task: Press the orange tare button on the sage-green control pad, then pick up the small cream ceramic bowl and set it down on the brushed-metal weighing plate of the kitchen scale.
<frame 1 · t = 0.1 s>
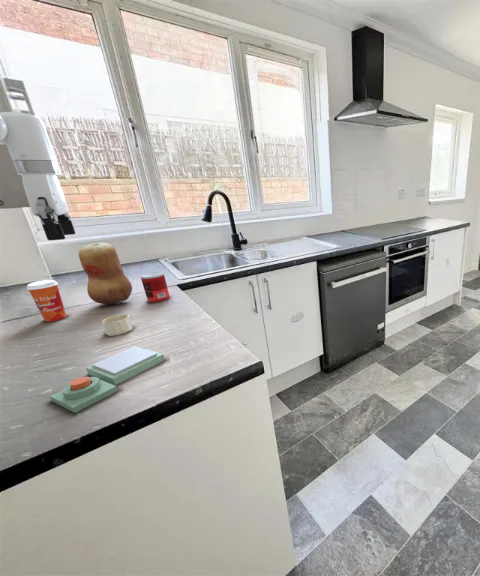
hand: (62, 237, 83), 33 cm above the countertop, tool pointing down, fingers open, 9 cm apart
paper cup: (56, 318, 114), on the countertop
butternut squash: (115, 304, 127), on the countertop
tare button: (80, 383, 70), point 3 cm above the countertop, slide at 0.1 cm
canned food: (159, 299, 131), on the countertop
scale: (128, 367, 83), on the countertop
bowl: (119, 330, 103), on the countertop
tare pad: (85, 395, 72), on the countertop
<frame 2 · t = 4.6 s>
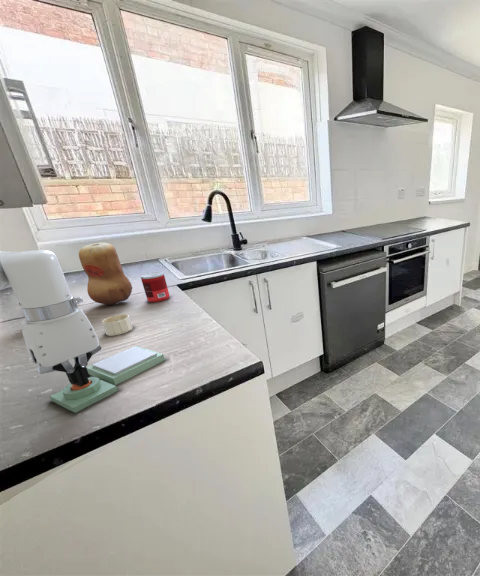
hand: (81, 383, 70), 3 cm above the countertop, tool pointing down, fingers closed
tare button: (81, 386, 71), point 3 cm above the countertop, slide at -0.7 cm, touching gripper
everything else where it was.
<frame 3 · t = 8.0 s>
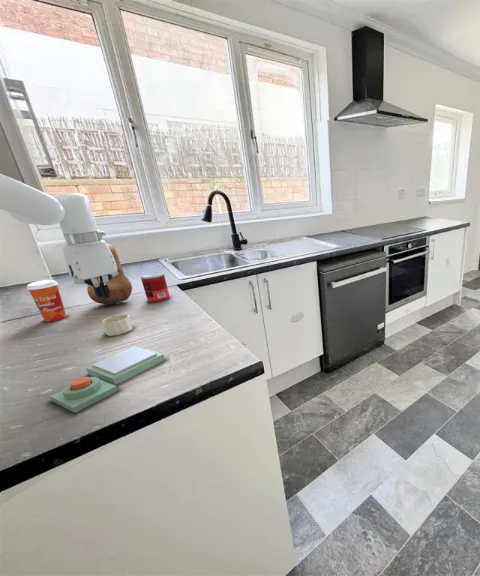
hand: (104, 297, 95), 13 cm above the countertop, tool pointing down, fingers closed
tare button: (80, 383, 70), point 3 cm above the countertop, slide at 0.1 cm
everything else where it was.
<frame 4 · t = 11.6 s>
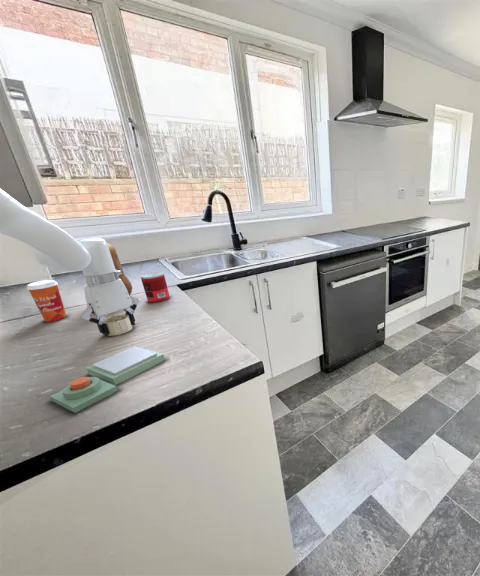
hand: (119, 328, 103), 1 cm above the countertop, tool pointing down, fingers closed on bowl, 6 cm apart
bowl: (119, 330, 103), on the countertop, touching gripper
everything else where it was.
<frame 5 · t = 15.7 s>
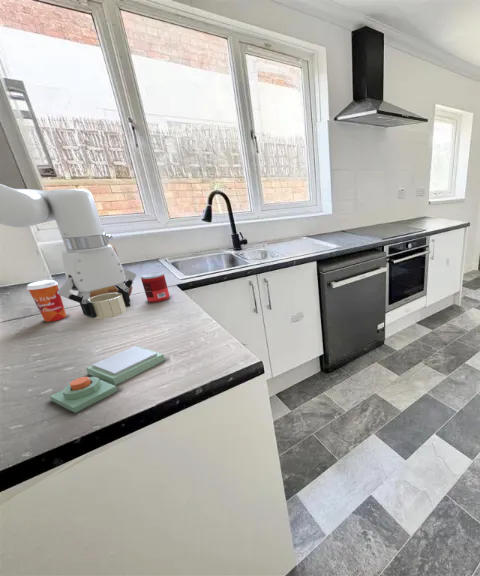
hand: (109, 310, 80), 15 cm above the countertop, tool pointing down, fingers closed on bowl, 6 cm apart
bowl: (110, 313, 80), point 15 cm above the countertop, touching gripper
everything else where it was.
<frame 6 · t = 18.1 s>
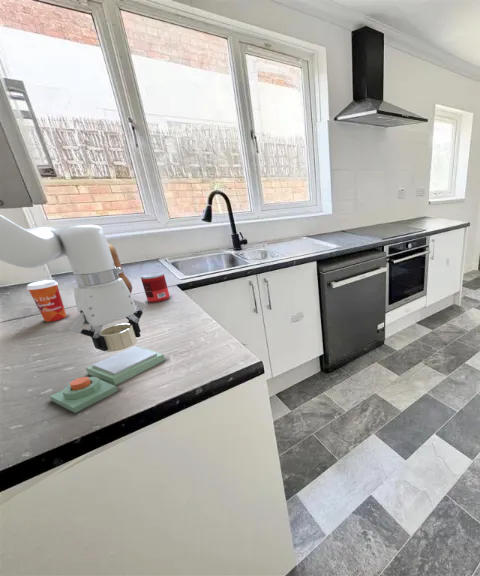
hand: (120, 342, 80), 8 cm above the countertop, tool pointing down, fingers closed on bowl, 6 cm apart
bowl: (121, 344, 80), point 7 cm above the countertop, touching gripper
everything else where it was.
when the fingers open (3 cm above the countertop, at t = 19.9 s): bowl stays where it is, resting on scale.
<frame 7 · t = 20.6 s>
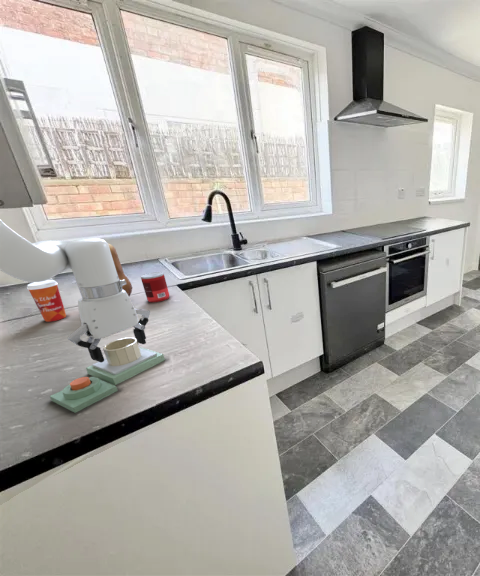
hand: (121, 351, 81), 5 cm above the countertop, tool pointing down, fingers open, 9 cm apart
bowl: (125, 358, 82), point 3 cm above the countertop, touching scale
everything else where it was.
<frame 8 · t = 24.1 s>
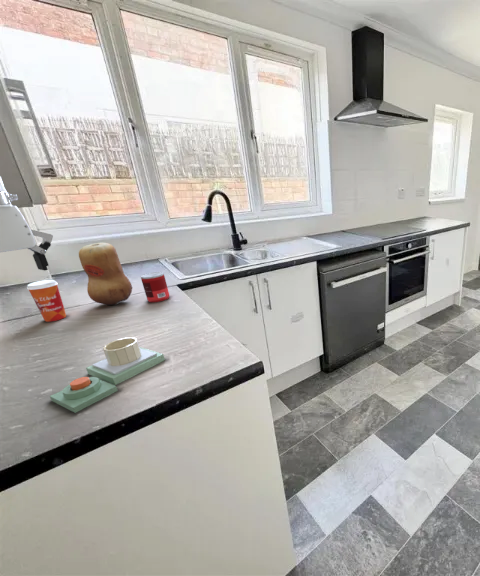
hand: (15, 275, 73), 26 cm above the countertop, tool pointing down, fingers open, 9 cm apart
nothing on the countertop moved.
at the end: tare button pushed in 0.9 cm at the most during the clip, back to where it started at the end; bowl 0.1 cm off-centre on the scale, point 2.6 cm above the scale's base; bowl tilted 0° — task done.
